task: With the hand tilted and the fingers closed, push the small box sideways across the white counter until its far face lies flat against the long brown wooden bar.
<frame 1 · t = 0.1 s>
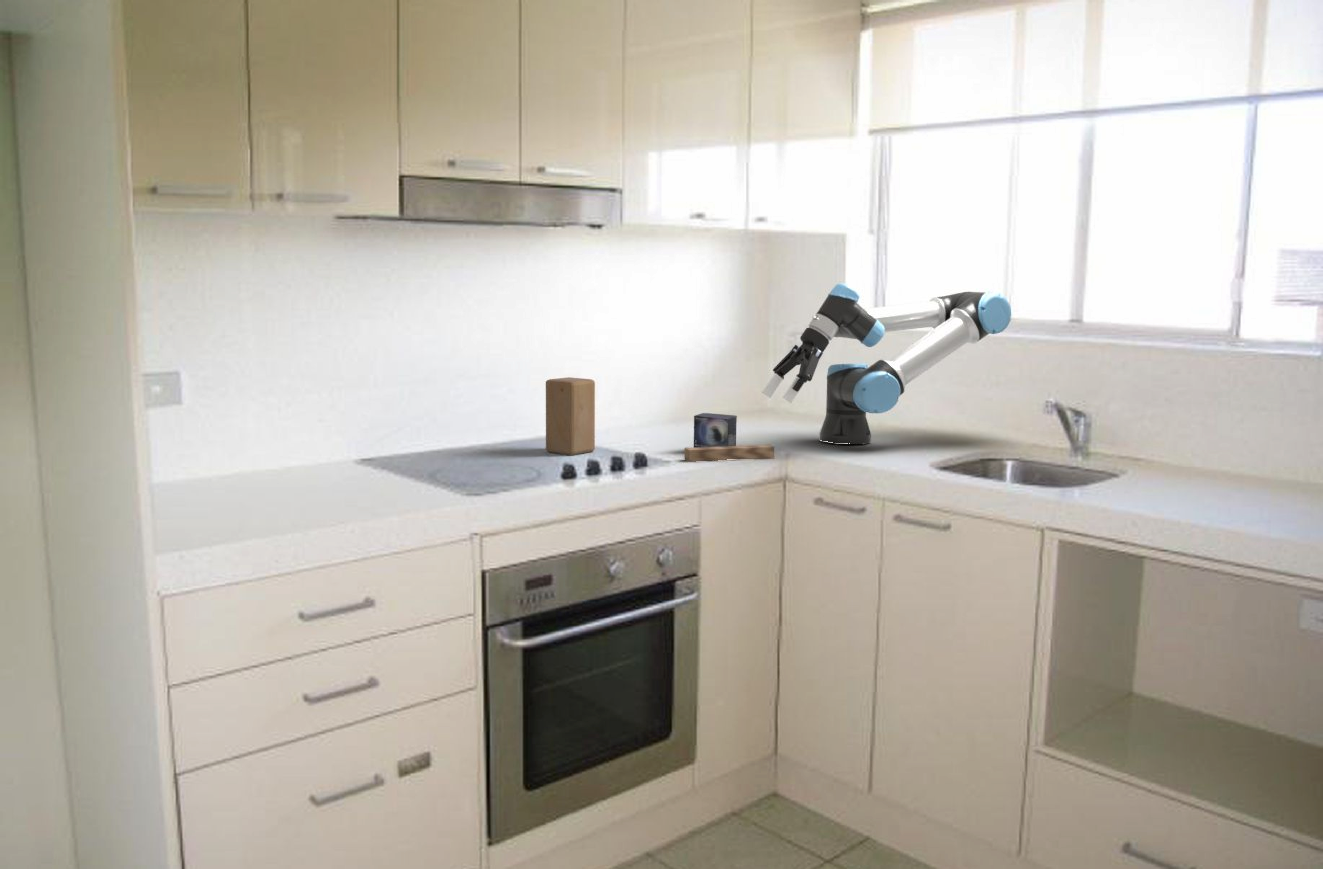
hand: (776, 397, 303), 15 cm above the worktop, tool tilted 35°, fingers open, 13 cm apart
wooden block: (570, 452, 302), on the worktop
small box: (714, 453, 304), on the worktop
long brown wooden bar: (729, 460, 294), on the worktop
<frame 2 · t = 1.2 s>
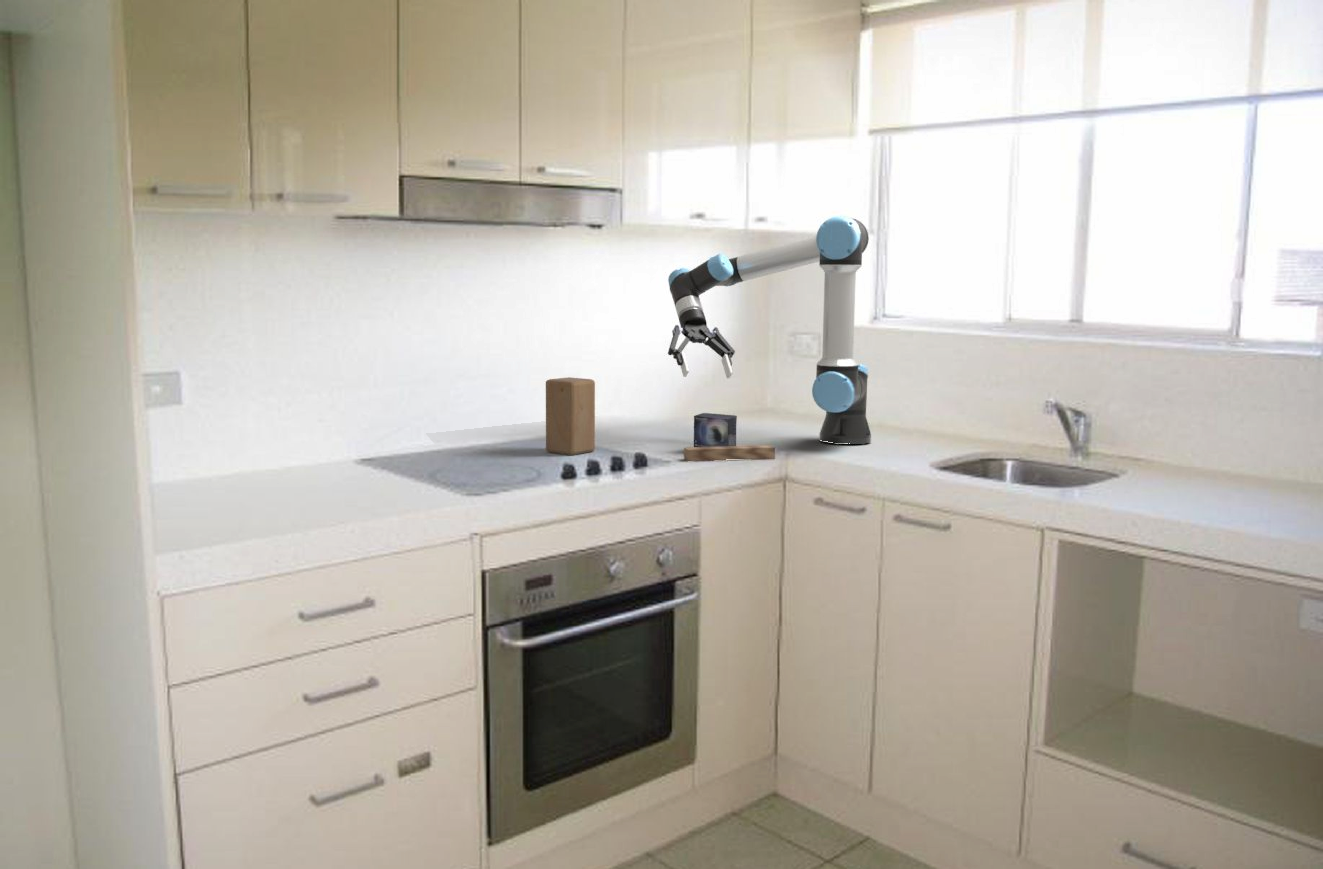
hand: (708, 374, 309), 21 cm above the worktop, tool tilted 40°, fingers open, 13 cm apart
nothing on the worktop moved.
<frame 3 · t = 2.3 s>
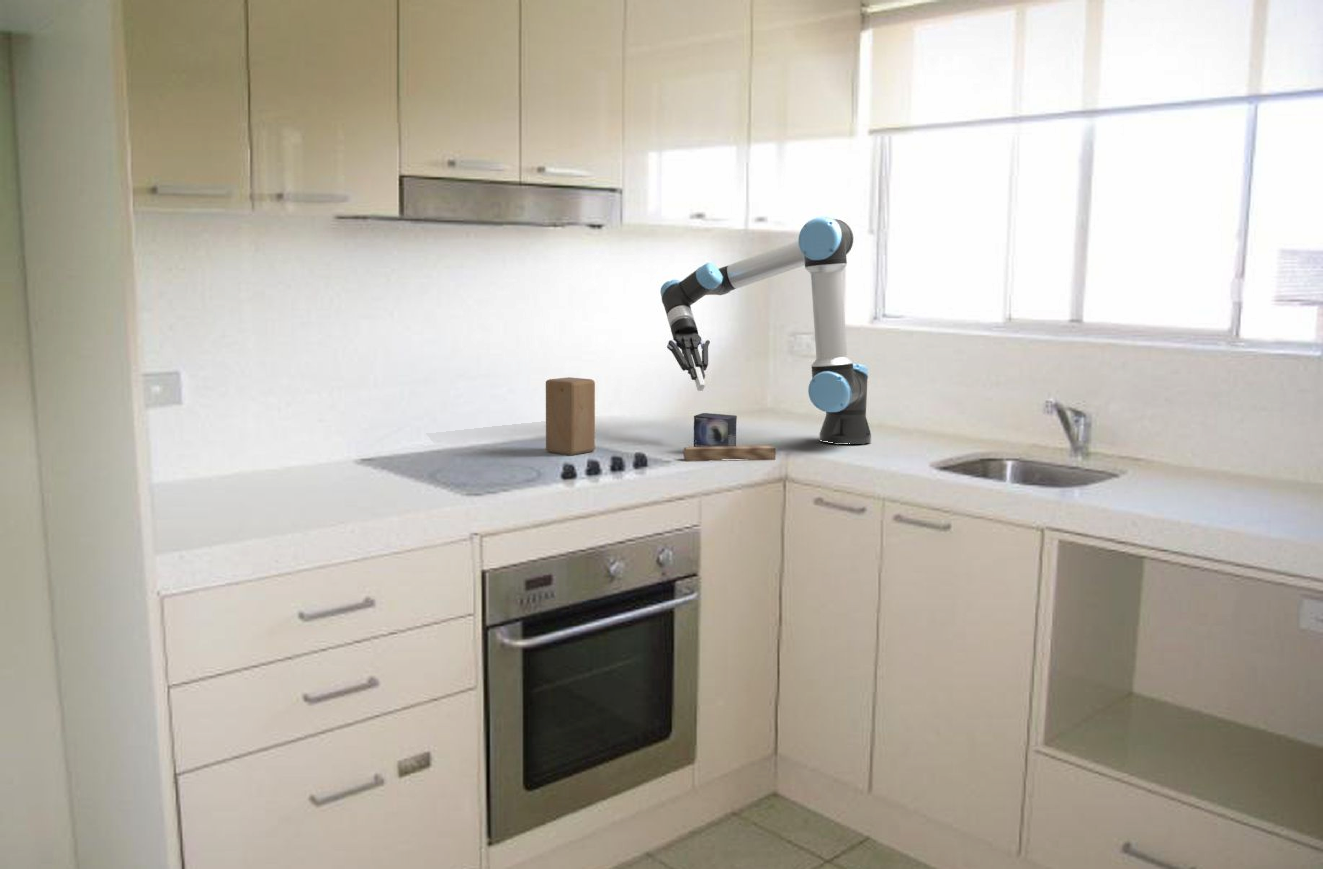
hand: (701, 387, 311), 17 cm above the worktop, tool tilted 45°, fingers closed
nothing on the worktop moved.
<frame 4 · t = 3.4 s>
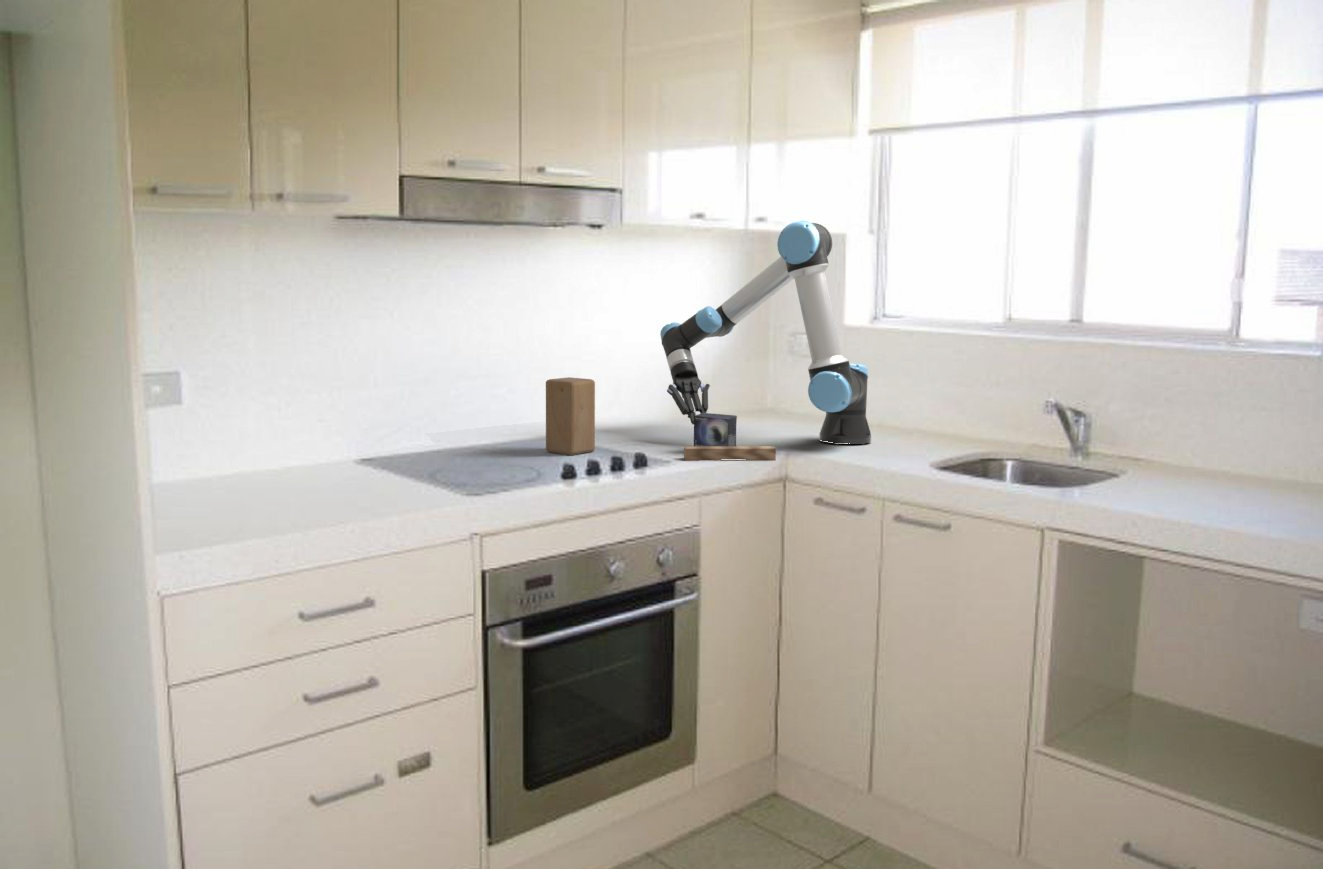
hand: (701, 432, 313), 4 cm above the worktop, tool tilted 45°, fingers closed
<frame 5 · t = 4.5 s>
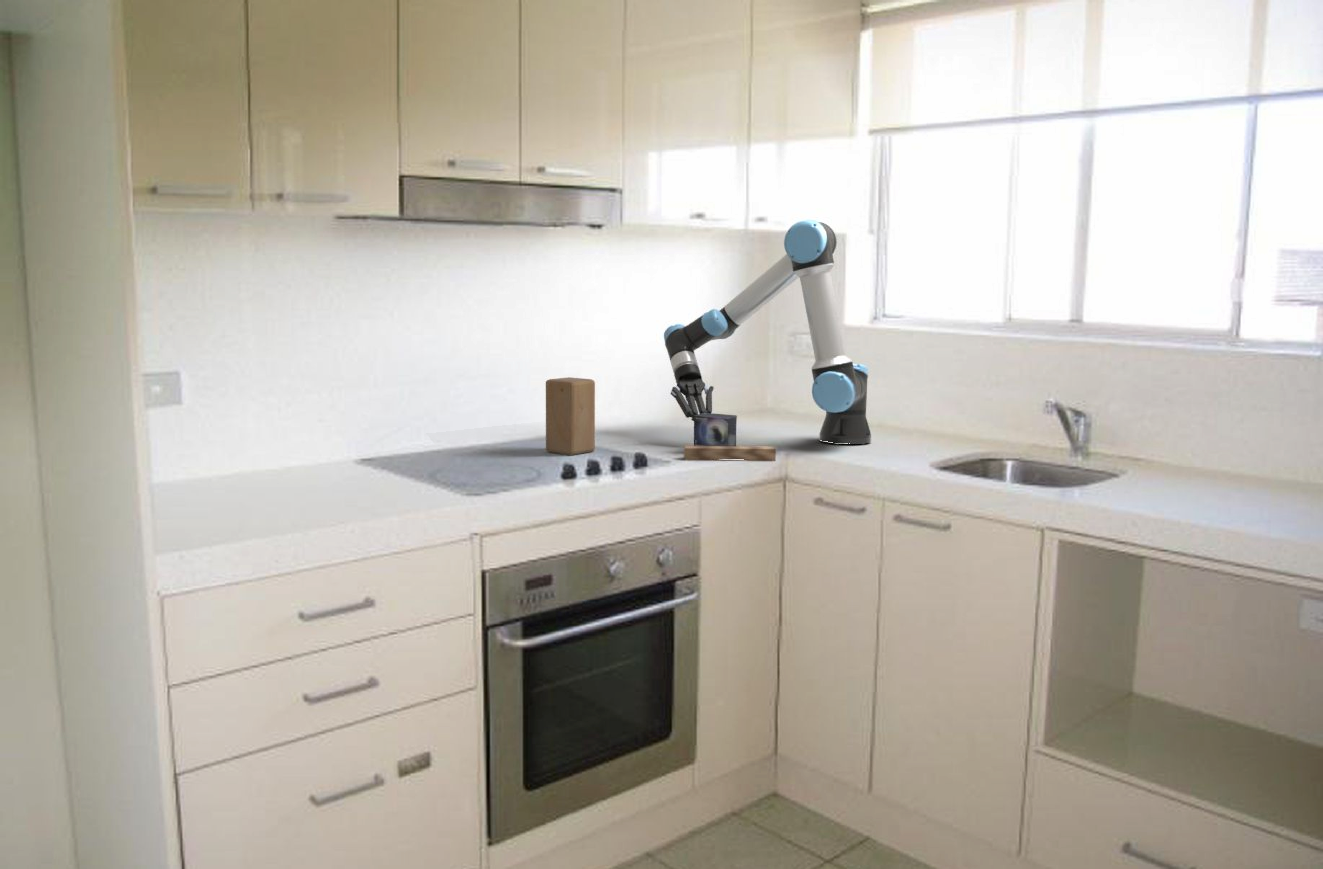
hand: (705, 435, 309), 4 cm above the worktop, tool tilted 45°, fingers closed
small box: (714, 453, 304), on the worktop, touching gripper
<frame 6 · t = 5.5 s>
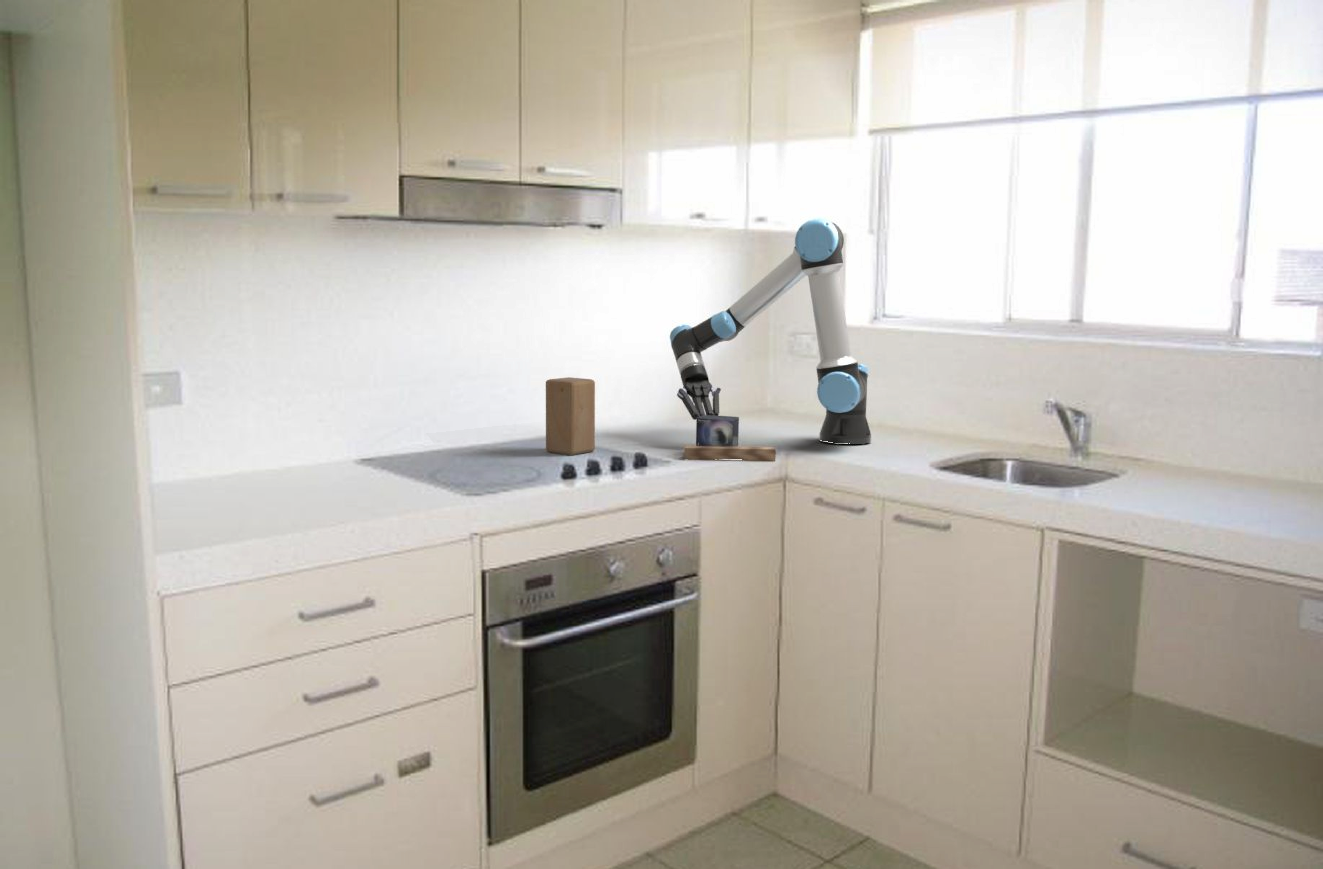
hand: (712, 437, 304), 4 cm above the worktop, tool tilted 45°, fingers closed
small box: (716, 455, 300), on the worktop, touching gripper
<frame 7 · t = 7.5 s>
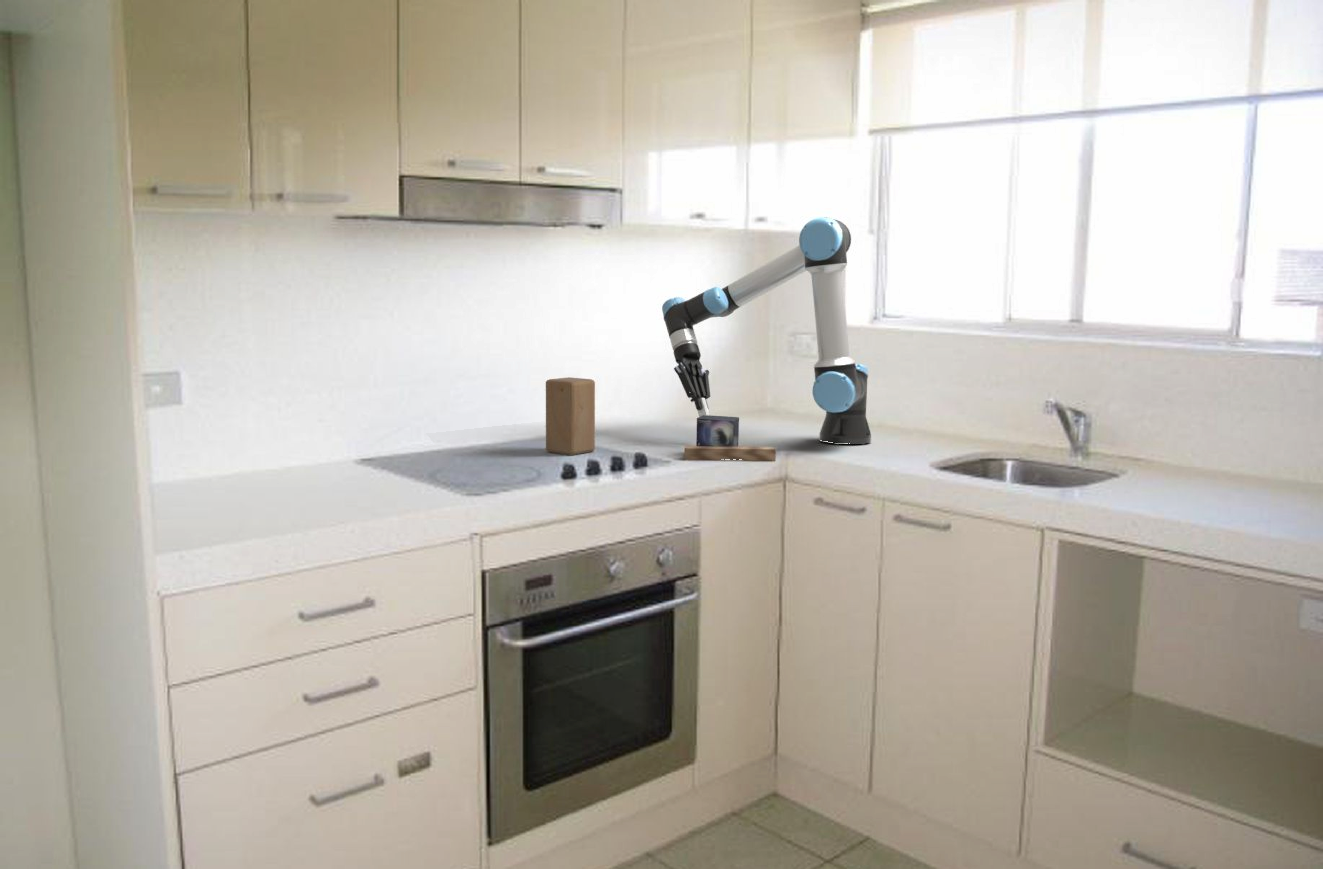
hand: (705, 420, 314), 7 cm above the worktop, tool tilted 35°, fingers closed
small box: (717, 456, 299), on the worktop
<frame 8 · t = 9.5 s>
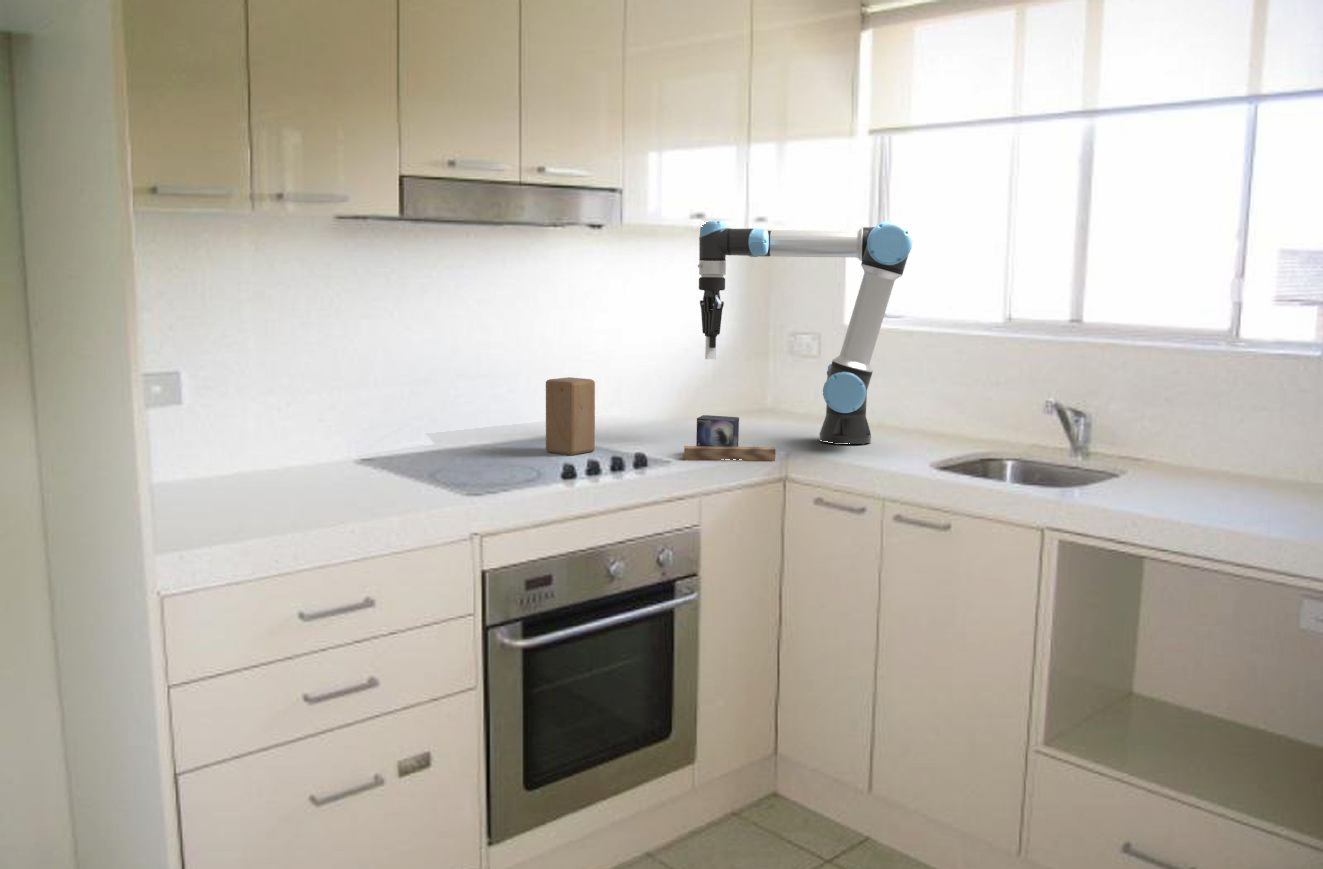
hand: (710, 359, 318), 24 cm above the worktop, tool pointing down, fingers closed
nothing on the worktop moved.
at the end: small box inside the target area on the worktop beside the long brown wooden bar (0.7 cm from its centre), on the worktop; small box tilted 0°; long brown wooden bar moved 0.5 cm from its start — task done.
